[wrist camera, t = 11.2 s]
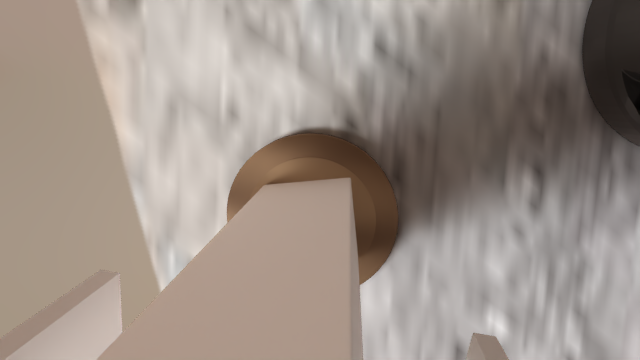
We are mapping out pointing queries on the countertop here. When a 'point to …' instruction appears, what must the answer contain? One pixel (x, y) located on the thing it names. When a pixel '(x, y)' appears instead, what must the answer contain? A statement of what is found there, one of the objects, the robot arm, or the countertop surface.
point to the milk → (263, 286)
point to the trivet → (320, 164)
